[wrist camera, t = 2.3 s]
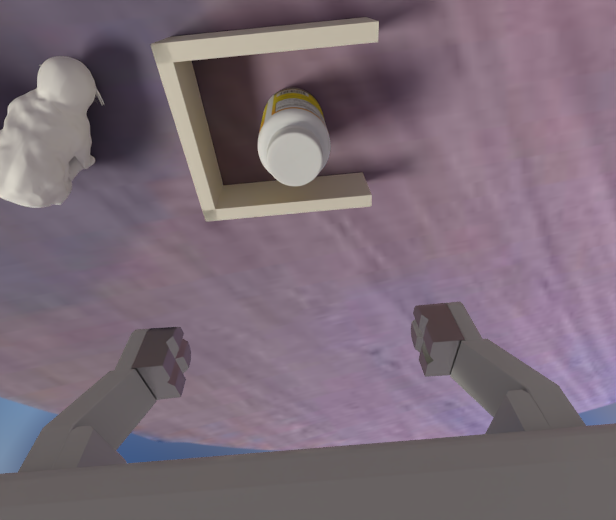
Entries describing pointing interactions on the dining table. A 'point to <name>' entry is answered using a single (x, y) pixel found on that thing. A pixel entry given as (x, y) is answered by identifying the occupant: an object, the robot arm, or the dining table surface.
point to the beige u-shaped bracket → (196, 136)
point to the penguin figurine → (48, 135)
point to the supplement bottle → (293, 137)
